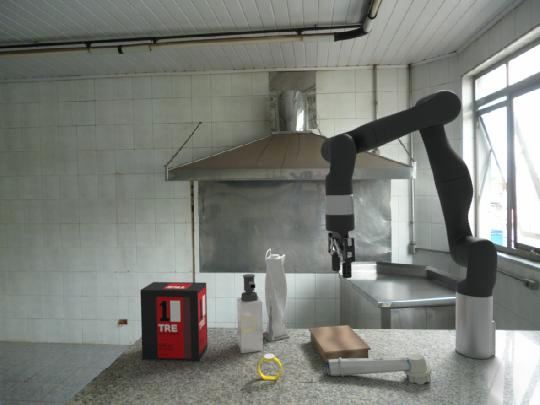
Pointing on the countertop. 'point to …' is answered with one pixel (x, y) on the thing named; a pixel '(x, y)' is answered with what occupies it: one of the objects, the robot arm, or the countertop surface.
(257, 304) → the soap dispenser
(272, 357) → the watch
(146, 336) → the cleaning product box
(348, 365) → the white handheld device
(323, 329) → the stand
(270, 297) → the skyscraper
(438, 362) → the countertop surface
